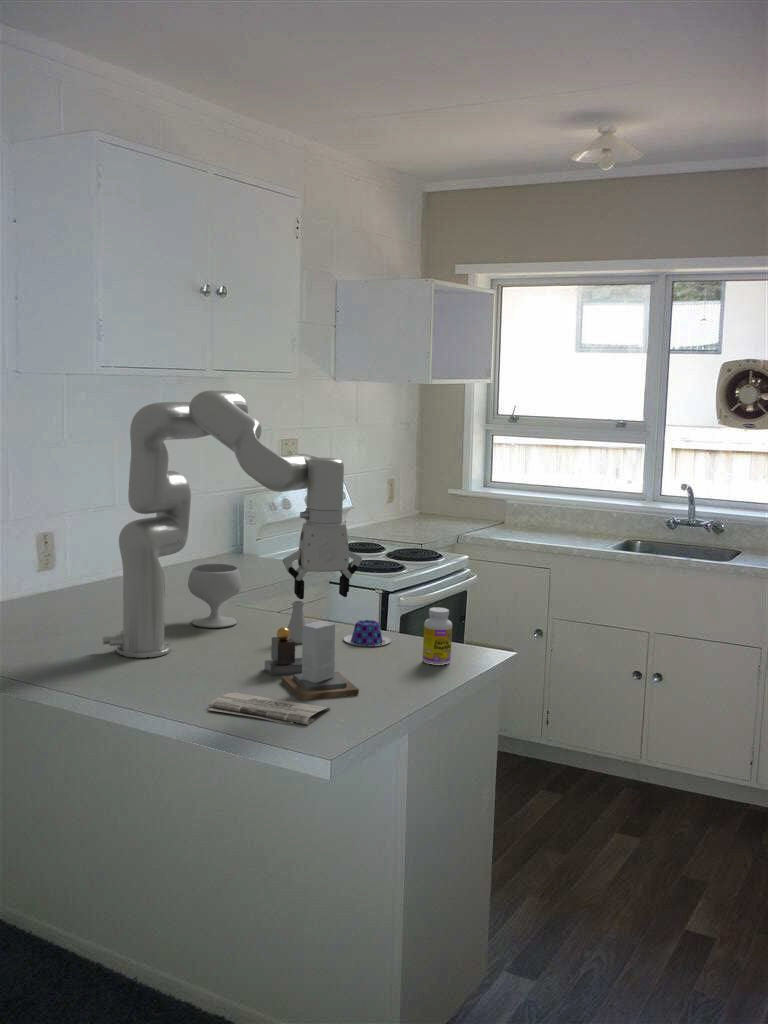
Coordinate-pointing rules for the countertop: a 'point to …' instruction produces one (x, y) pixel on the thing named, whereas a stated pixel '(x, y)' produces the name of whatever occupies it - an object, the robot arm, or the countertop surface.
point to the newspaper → (266, 708)
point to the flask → (297, 622)
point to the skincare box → (318, 651)
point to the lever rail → (284, 667)
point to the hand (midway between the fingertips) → (321, 596)
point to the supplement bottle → (437, 637)
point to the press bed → (319, 687)
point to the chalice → (214, 591)
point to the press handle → (283, 647)
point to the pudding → (366, 634)
